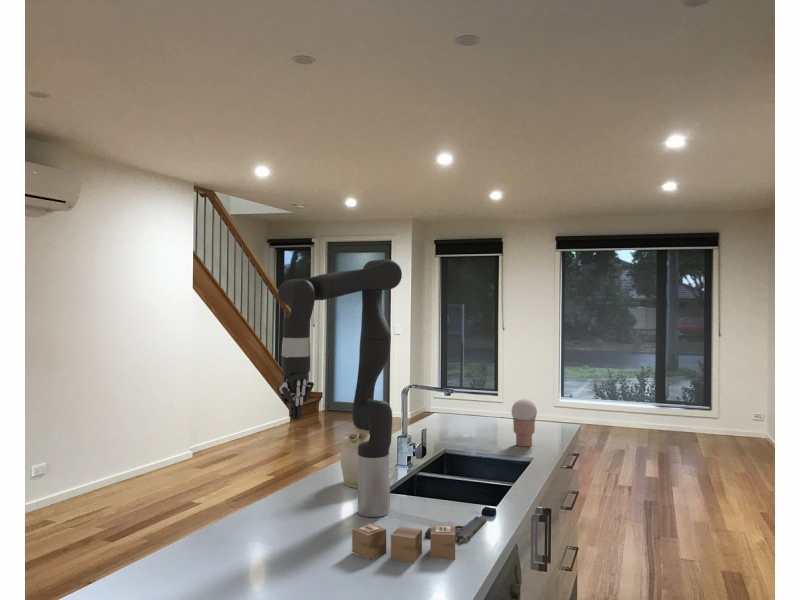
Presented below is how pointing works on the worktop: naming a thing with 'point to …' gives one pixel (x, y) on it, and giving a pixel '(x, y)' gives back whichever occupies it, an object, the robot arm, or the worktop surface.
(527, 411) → the ice cream cone
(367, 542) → the labelled block
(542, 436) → the worktop surface
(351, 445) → the jug
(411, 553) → the plain block
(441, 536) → the labelled block
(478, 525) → the pistol
